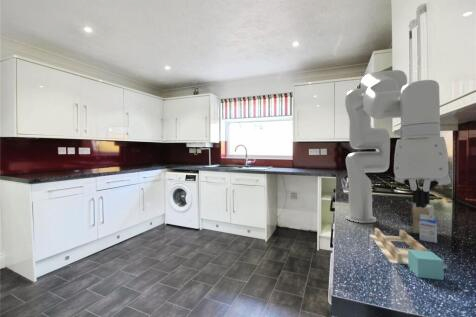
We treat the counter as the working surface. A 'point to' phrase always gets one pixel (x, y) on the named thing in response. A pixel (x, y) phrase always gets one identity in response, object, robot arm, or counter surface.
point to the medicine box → (428, 228)
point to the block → (426, 264)
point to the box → (416, 216)
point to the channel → (391, 251)
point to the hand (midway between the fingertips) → (421, 206)
